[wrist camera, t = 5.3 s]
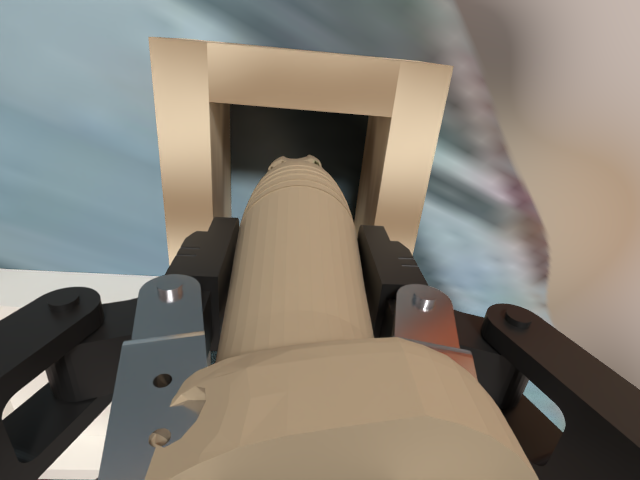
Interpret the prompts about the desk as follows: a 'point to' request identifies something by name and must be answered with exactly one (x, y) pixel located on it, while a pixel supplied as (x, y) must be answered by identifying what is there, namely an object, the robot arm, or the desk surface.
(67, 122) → the desk surface
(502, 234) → the desk surface
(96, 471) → the tray
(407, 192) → the socket block
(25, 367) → the robot arm
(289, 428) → the handle
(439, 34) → the desk surface
